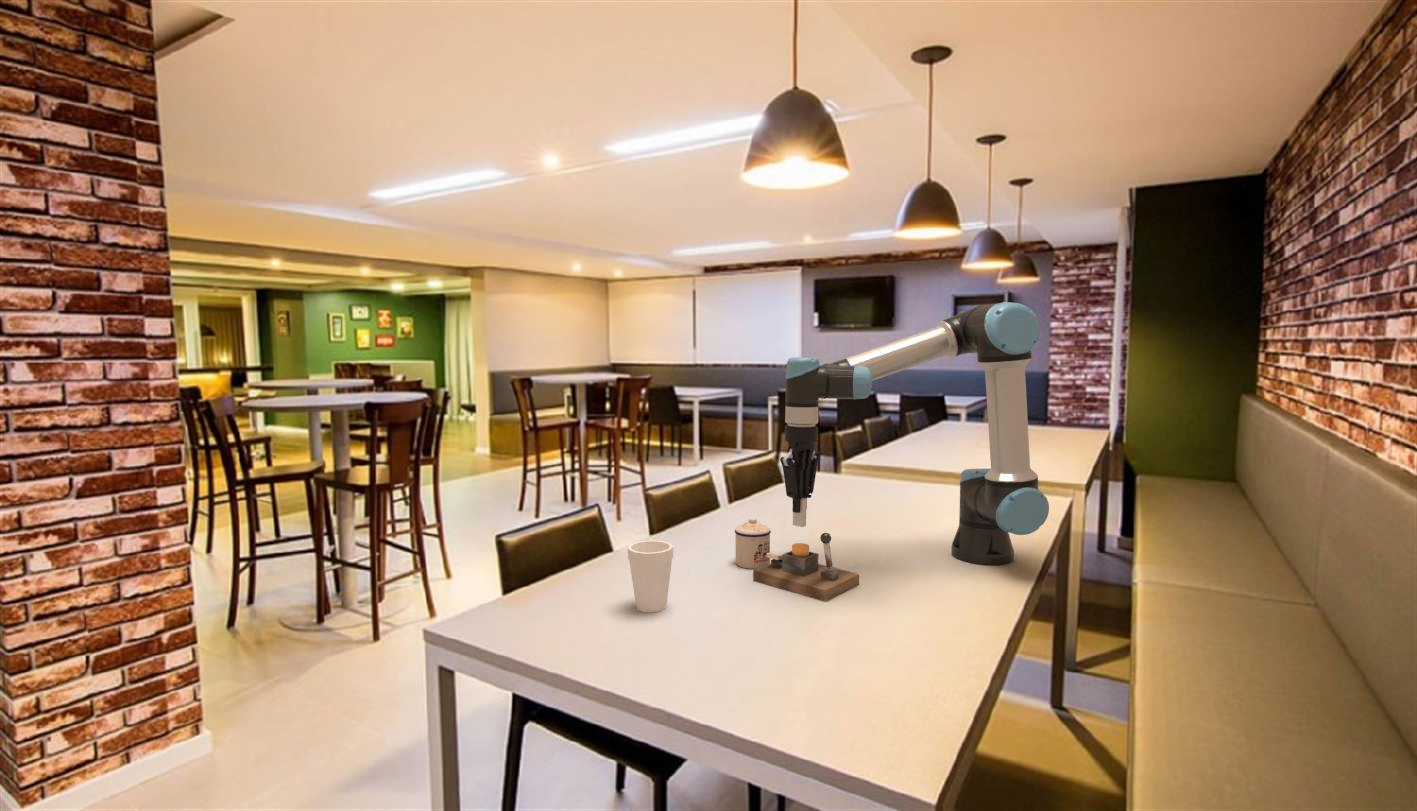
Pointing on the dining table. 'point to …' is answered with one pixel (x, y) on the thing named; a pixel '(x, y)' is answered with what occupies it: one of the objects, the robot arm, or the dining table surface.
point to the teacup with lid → (752, 544)
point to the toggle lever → (827, 549)
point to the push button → (800, 550)
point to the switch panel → (806, 577)
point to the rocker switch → (775, 555)
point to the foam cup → (650, 573)
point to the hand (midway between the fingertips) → (799, 525)
